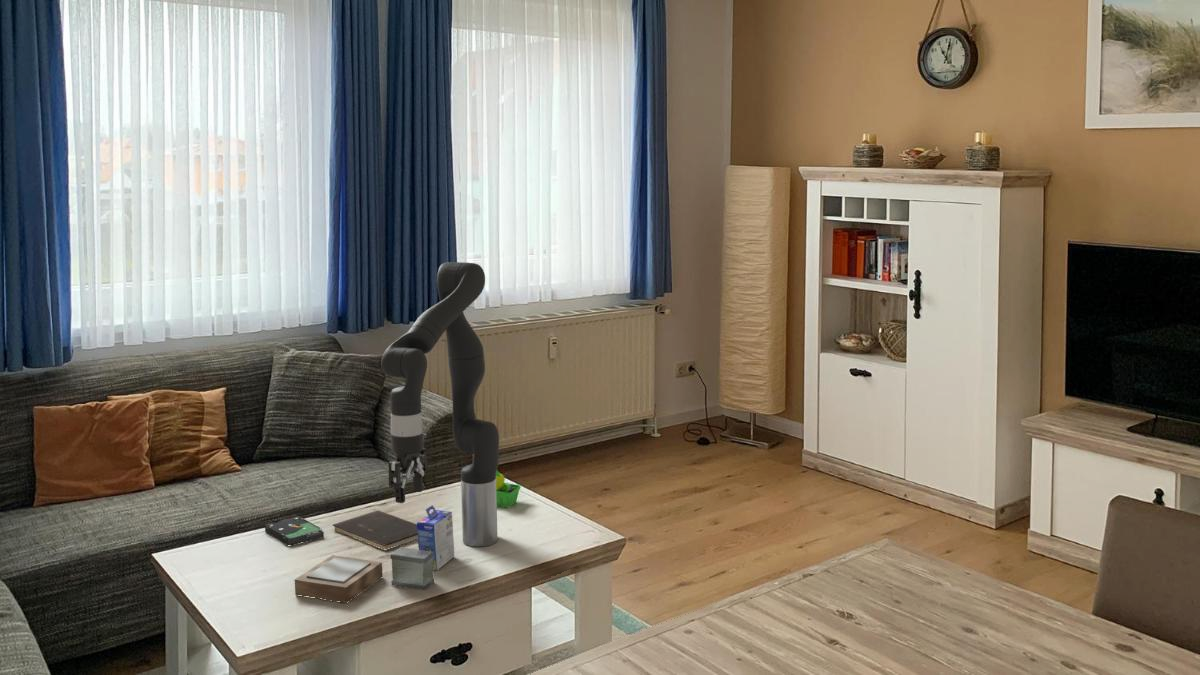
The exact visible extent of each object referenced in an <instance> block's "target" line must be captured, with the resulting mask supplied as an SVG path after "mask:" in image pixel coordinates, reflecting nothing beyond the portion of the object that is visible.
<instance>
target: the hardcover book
mask: <svg viewBox="0 0 1200 675" xmlns="http://www.w3.org/2000/svg"><path fill="white" fill-rule="evenodd" d="M332 526H333V527H334V531H335V530H336V531H335V532H337V531H338V533H340V532H341V533H340V534H342V533H344V534H343V535H345V534H347V535H349V536H348V537H350V536H352V537H355V538H357V539H360V540H362V541H365V542H367V543H370V544H372V545H375V546H377V547H380V548H382V549H388V548H391V547H394V546H397V545H400V546H402V545H401V544H403V545H405V544H404V543H406V544H408V543H407V542H409V541H412V540H414V541H416V540H415V539H417V540H418V533H417V523H415V522H412V521H409V520H406V519H405V518H401V517H398V516H395V515H392V514H391V513H387V512H384V511H382V510H380V509H378V510H375V511H372V512H368V513H365V514H362V515H359V516H356V517H352V518H350V519H346V520H343V521H339V522H337V523H333V524H332ZM347 535H346V536H347ZM352 537H351V538H352ZM355 538H354V539H355ZM357 539H356V540H357ZM360 540H359V541H360ZM362 541H361V542H362ZM365 542H364V543H365ZM412 542H413V541H412ZM367 543H366V544H367ZM409 543H410V542H409ZM370 544H369V545H370ZM372 545H371V546H372ZM375 546H374V547H375ZM377 547H376V548H377ZM397 547H398V546H397ZM380 548H379V549H380ZM382 549H381V550H382Z"/></svg>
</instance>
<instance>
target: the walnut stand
mask: <svg viewBox="0 0 1200 675" xmlns="http://www.w3.org/2000/svg"><path fill="white" fill-rule="evenodd" d="M381 577H384V575H383V562H382V561H376V560H368V559H362V558H356V557H349V556H342V555H337V554H336V555H334V554H332V555H331V556H328V557H327V558H326V559H324V560H323V561H321V562H320V563H318V564H317V565H315V566H313V567H312V568H310V569H309V570H307V571H305V572H304V573H302V574H301V575H300V576H298V577H296V578H294V594H295V595H302V596H309V597H315V598H322V599H326V600H325V601H327V600H332V601H331V602H333V601H340V602H344V603H343V604H345V603H347V602H348V601H350V600H351V599H353V598H354V597H355V596H357V595H358V594H359V595H361V594H362V593H364V592H365V591H366V590H367V588H368V587H369V586H370V587H371V585H372V584H373V585H375V584H376V583H377V582H378V581H377V580H379V579H380V578H381ZM381 579H382V578H381ZM381 579H380V580H381ZM380 580H379V581H380ZM376 581H377V582H376ZM375 582H376V583H375ZM373 585H372V586H373ZM370 587H369V588H370ZM369 588H368V589H369ZM365 589H366V590H365ZM364 590H365V591H364ZM363 591H364V592H363ZM361 592H362V593H361ZM360 593H361V594H360ZM359 595H358V596H359ZM358 596H357V597H358ZM355 598H356V597H355ZM355 598H354V599H355ZM354 599H353V600H354ZM351 601H352V600H351ZM351 601H350V602H351ZM347 604H348V603H347Z"/></svg>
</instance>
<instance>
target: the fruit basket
mask: <svg viewBox="0 0 1200 675" xmlns="http://www.w3.org/2000/svg"><path fill="white" fill-rule="evenodd" d="M505 480H506V478H505V476H504V474H502V473H500V472H499V471H498V470H497V471H496V500H497V507H502V508H503V507H504V508H510V507H511V506H512V505H514V504H515V503H517V501H518V496H519V492H520V490H521V487H522V485H520V484H513V483H509V482H505Z"/></svg>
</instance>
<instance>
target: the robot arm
mask: <svg viewBox="0 0 1200 675" xmlns="http://www.w3.org/2000/svg"><path fill="white" fill-rule="evenodd" d="M484 271H485V270H484V268H483V267H482V266H481V265H480V264H477V263H476V262H475V263H474V262H465V261H464V262H463V261H462V262H460V261H458V262H457V261H456V262H454V261H453V262H452V261H447V262H443V263H442V264H440V266H439V267H438V271H437V276H436V286H437V292H438V298H439V302H437V303H436V304H434V305H432V306H431V307H429V308H428V309H426V310H425V311H423V312H422V313H421V314H420V315H419V316H418V317H417V319H416V320H415V322H414V323H413V325H411V327H410V329H408V331H407V332H406V333H404V334H403V335H401V336H400V337H399V338H398V339H396V340H394V342H392V343H391V344H390V345H389V346H388V347H386V349H385V351H384V352H383V354H382V356H381V361H380V366H381V369H382V372H383V374H385V375H387V376H388V377H393V378H401V379H402V378H403V379H406V381H405V384H404V385H402V386H398V387H394V388H393V389H392V390H391V391H390V423H389V424H390V426H389V427H390V444H391V445H390V447H391V451H392V453H394V454H396V459H395V461H389V462H388V487H390V488H394V494H395V495H394V496H395V498H394V499H395V502H396V503H397V504H404V503H405V502H406V489H405V488H406V487H405V485H406V481H407V480H409V478H410V475H411V474H412V475H413V477H412V484H413V489H412V490H413V492H416V493H417V492H418V493H422V491H423V490H424V483H423V477H424V476H425V472H427V471H428V469H429V467H428V455H427V454H428V453H427V448H426V447H424V444H425V443H424V442H425V441H424V423H423V422H424V420H423V414H422V397H421V396H422V390H423V385H424V382H425V378H426V374H427V368H428V360H427V357H426V354H428V353H430V352H431V351H432V350H433V348H435V346H436V344H437V342H438V341H439V340H440V338H441V337H442V335H443V334H444V333H445V336H446V337H445V339H446V348H447V349H446V350H447V361H448V369H449V376H450V377H449V378H450V384H451V386H450V387H451V397H452V398H451V399H452V439H453V442H454V445H455V448H456V449H457V450H458V451H460V452H462V453H465V454H471V455H473V463H471V464H468V465H466V466H463V467H462V469H461V470H460V487H461V488H460V489H461V491H460V492H461V521H462V522H461V525H462V526H461V527H462V528H461V529H462V543H463V544H465V545H466V546H470V547H486V546H490V545H493V544H495V543H496V542H497V541H498V506H497V500H496V471H498V467H499V459H500V458H499V454H500V453H499V452H500V434H499V429H498V428H497V426H496V424H495V423H494V422H491V421H488V420H482V419H478V418H477V417H476V412H475V397H476V395H477V392H478V390H479V388H480V385H481V383H482V381H483V379H484V376H485V373H486V365H485V364H486V363H485V362H486V361H485V352H484V346H483V344H482V342H481V340H480V337H479V336H478V334H477V333H476V331H475V330H474V328H473V327H472V326H471V324H470V323H469V321H468V320H467V318H466V316H465V314H464V311H466V309H467V308H468V307H470V306H471V305H472V304H473V303H474V302H475V301H476V300H477V299H478V298H479V296H480V295H481V294H482V292H483V290H484V288H485V285H486V274H485V272H484Z"/></svg>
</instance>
